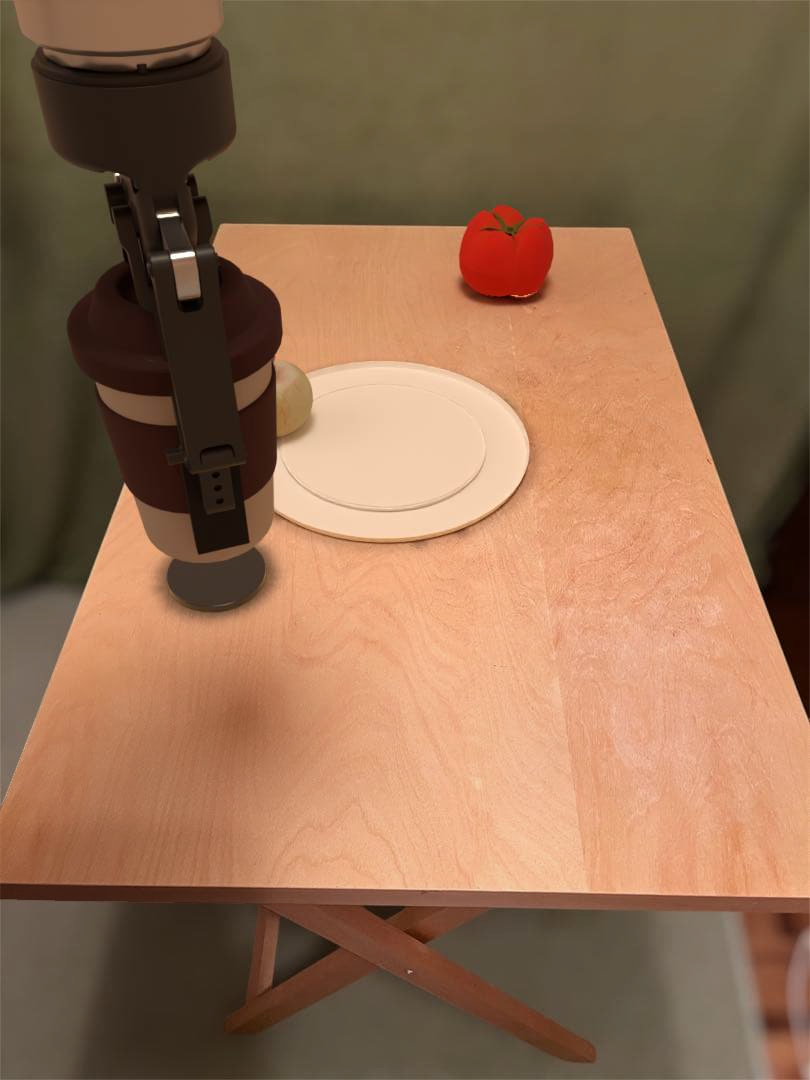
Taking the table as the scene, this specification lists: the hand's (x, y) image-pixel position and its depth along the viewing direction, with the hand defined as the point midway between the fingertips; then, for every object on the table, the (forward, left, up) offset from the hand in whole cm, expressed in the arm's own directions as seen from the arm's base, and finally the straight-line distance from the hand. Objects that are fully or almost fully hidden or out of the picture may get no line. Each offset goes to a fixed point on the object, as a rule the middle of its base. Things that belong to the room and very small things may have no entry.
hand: (205, 491), depth 51 cm
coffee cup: (0, 0, -2) cm, 2 cm away
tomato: (+45, +51, -21) cm, 72 cm away
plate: (+20, +26, -21) cm, 39 cm away
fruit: (+11, +32, -21) cm, 40 cm away
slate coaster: (+1, +14, -21) cm, 25 cm away
